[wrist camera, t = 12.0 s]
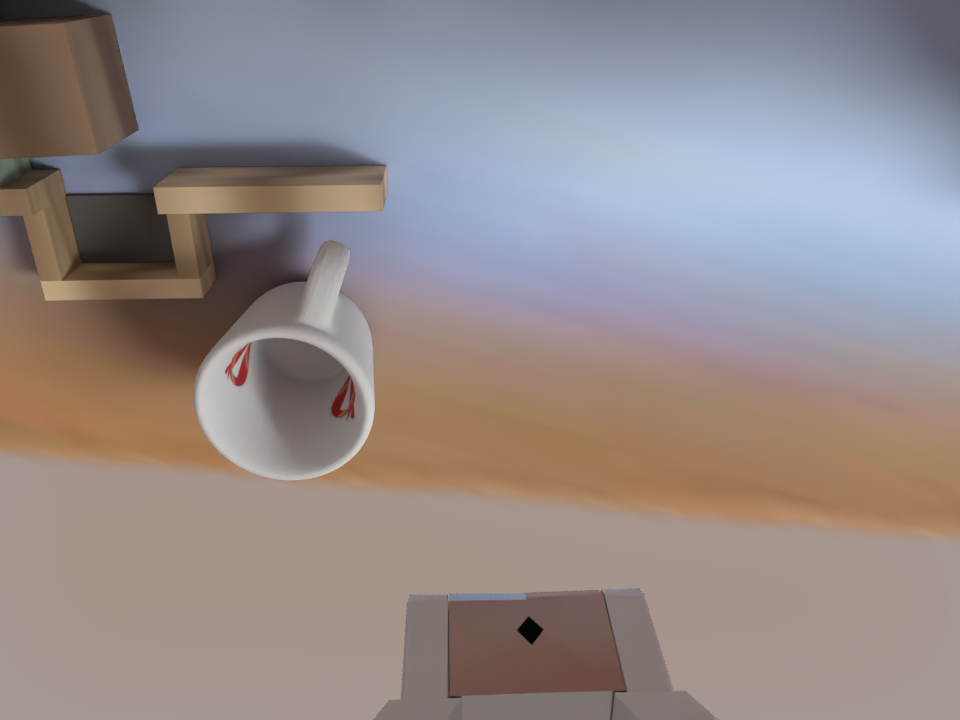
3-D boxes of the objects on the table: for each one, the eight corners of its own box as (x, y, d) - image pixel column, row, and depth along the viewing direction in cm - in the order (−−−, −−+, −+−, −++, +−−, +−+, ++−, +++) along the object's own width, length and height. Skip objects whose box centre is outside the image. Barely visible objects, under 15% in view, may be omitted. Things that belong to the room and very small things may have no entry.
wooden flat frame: (367, -174, 32) (358, -187, 29) (392, 276, 41) (388, 303, 38) (-88, -175, 32) (-146, -188, 29) (37, 281, 41) (3, 309, 38)
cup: (269, 187, 39) (229, 241, 32) (424, 242, 41) (419, 305, 33) (219, 371, 43) (174, 454, 36) (360, 414, 45) (343, 502, 38)
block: (111, 13, 35) (63, 23, 31) (139, 129, 38) (97, 153, 33) (-3, 19, 35) (-68, 30, 31) (32, 135, 38) (-24, 160, 33)
